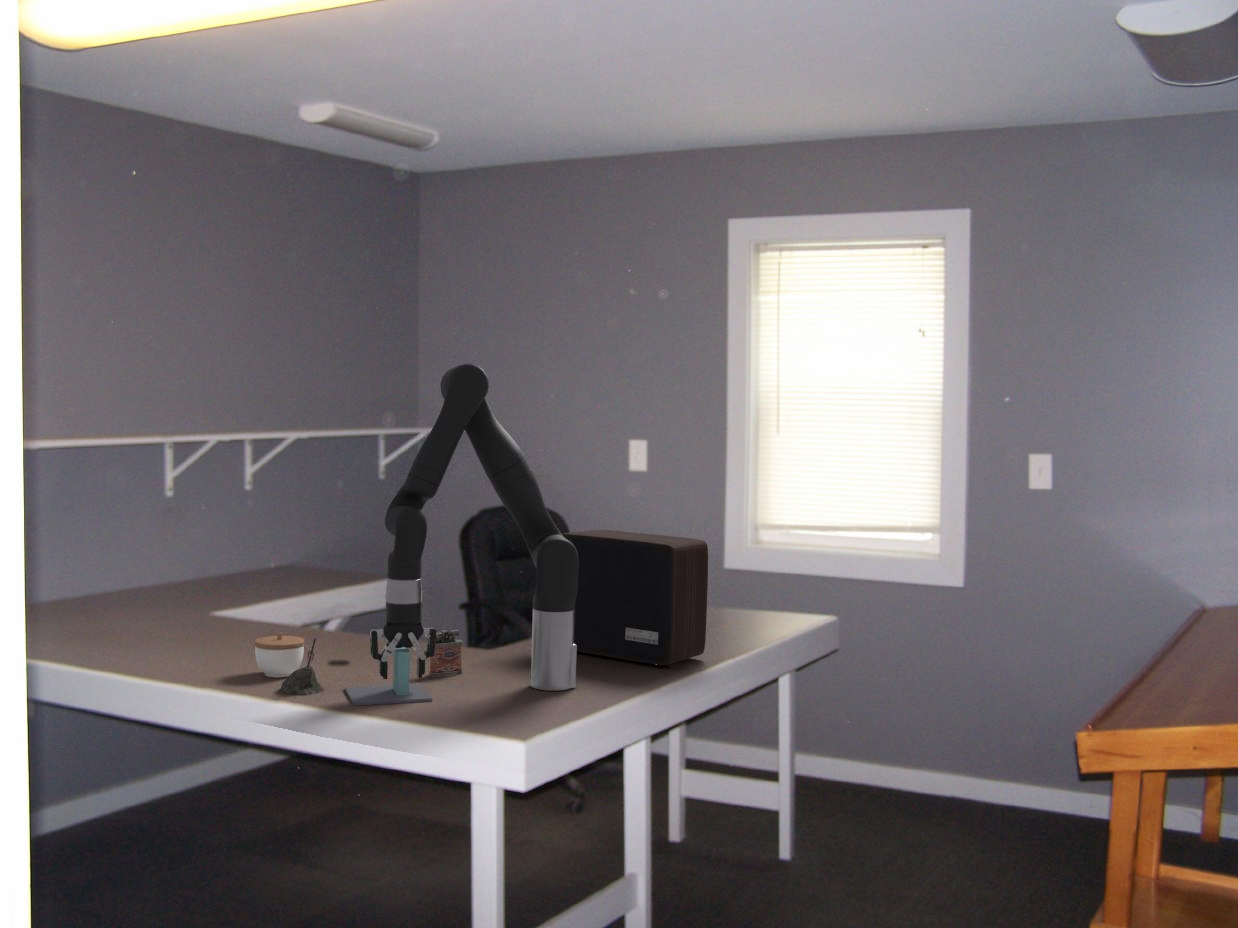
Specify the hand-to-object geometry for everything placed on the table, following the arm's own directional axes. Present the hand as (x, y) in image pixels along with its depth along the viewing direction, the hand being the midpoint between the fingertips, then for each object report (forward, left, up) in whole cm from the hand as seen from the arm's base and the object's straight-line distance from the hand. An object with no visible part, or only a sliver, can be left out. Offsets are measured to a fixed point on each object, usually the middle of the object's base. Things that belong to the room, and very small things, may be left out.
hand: (402, 677), depth 257 cm
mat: (+3, 0, -4) cm, 5 cm away
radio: (-62, -29, -4) cm, 69 cm away
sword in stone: (+20, -9, -4) cm, 22 cm away
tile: (0, 0, -3) cm, 3 cm away
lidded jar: (+23, -25, -4) cm, 34 cm away
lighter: (-13, -17, -4) cm, 22 cm away
